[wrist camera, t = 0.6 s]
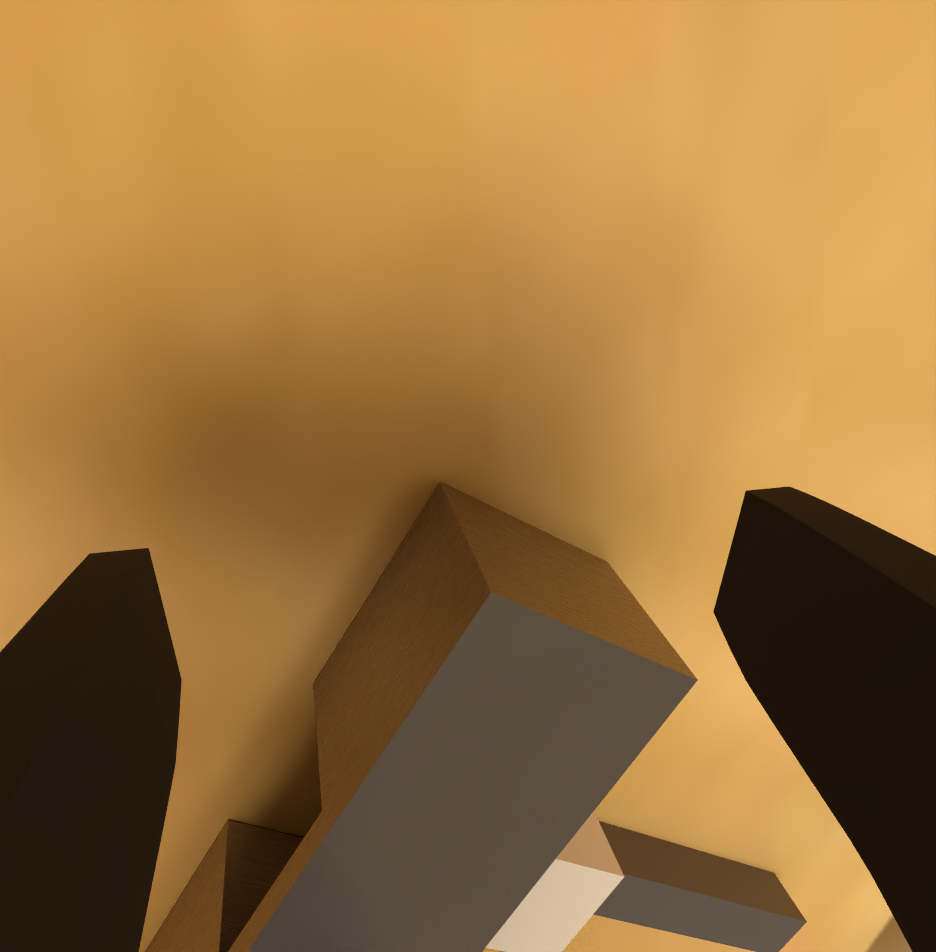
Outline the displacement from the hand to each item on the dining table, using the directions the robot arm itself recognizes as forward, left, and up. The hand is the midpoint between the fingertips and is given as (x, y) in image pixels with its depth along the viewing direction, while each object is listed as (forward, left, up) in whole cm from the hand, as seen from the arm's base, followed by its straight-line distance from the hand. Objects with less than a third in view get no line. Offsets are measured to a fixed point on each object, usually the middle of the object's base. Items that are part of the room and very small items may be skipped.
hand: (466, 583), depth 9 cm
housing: (-12, -6, -10) cm, 17 cm away
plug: (-12, -18, -10) cm, 24 cm away
